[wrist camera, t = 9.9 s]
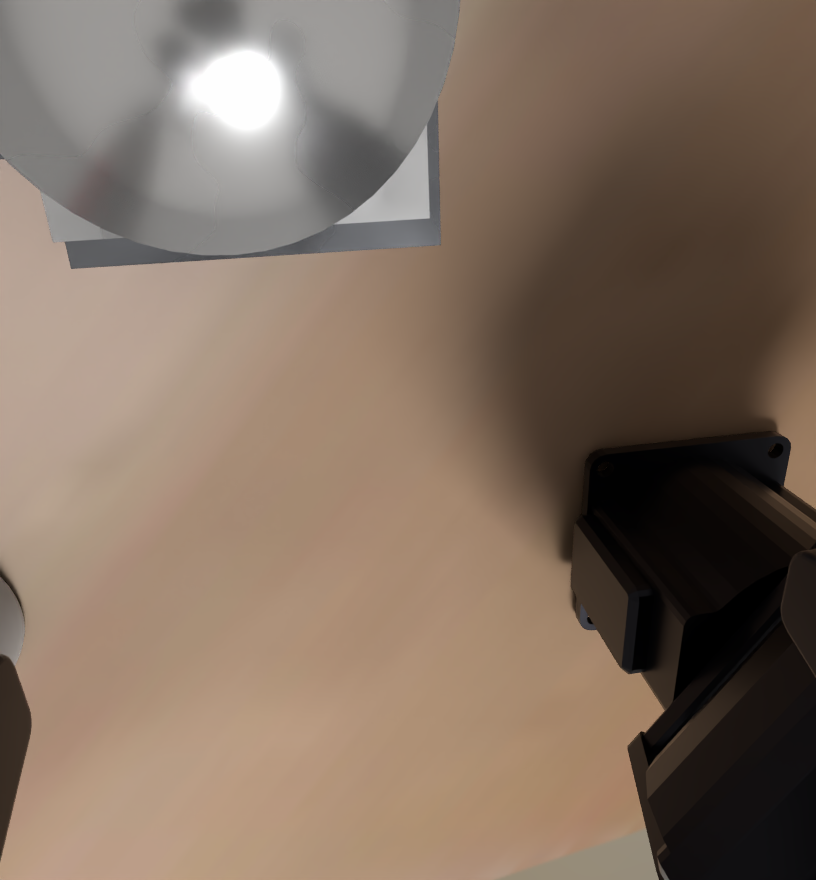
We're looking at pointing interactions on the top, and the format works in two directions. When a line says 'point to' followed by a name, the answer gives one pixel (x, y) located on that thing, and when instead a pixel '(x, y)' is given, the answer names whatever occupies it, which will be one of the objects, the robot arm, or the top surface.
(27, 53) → the grey square-based fixture
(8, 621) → the lotion bottle
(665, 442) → the robot arm
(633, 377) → the top surface
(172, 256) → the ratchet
